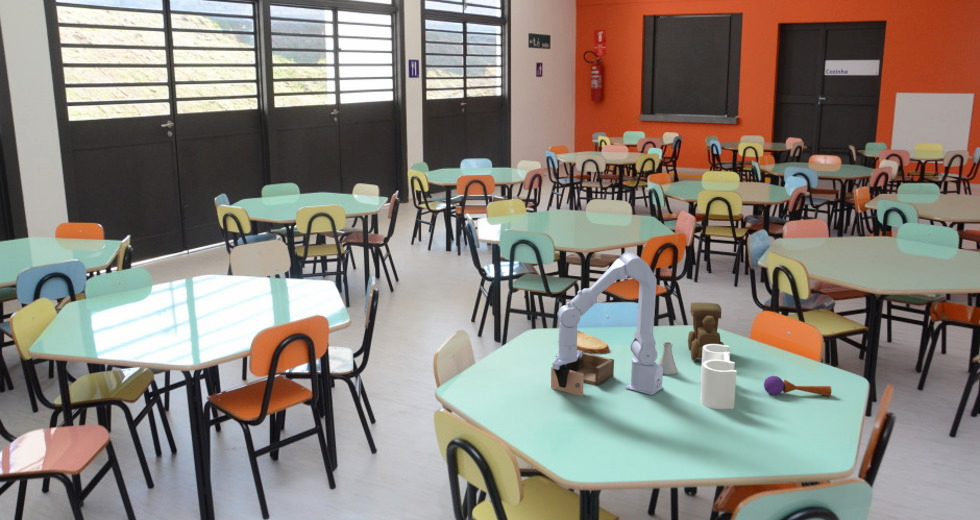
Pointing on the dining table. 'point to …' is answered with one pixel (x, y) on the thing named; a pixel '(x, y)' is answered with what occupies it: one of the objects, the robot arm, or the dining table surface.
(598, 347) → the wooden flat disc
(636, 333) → the robot arm
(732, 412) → the dining table surface
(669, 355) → the flask
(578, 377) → the door
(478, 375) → the dining table surface
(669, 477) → the dining table surface
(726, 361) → the bracket
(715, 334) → the wooden toy train
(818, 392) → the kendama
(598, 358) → the cabinet
